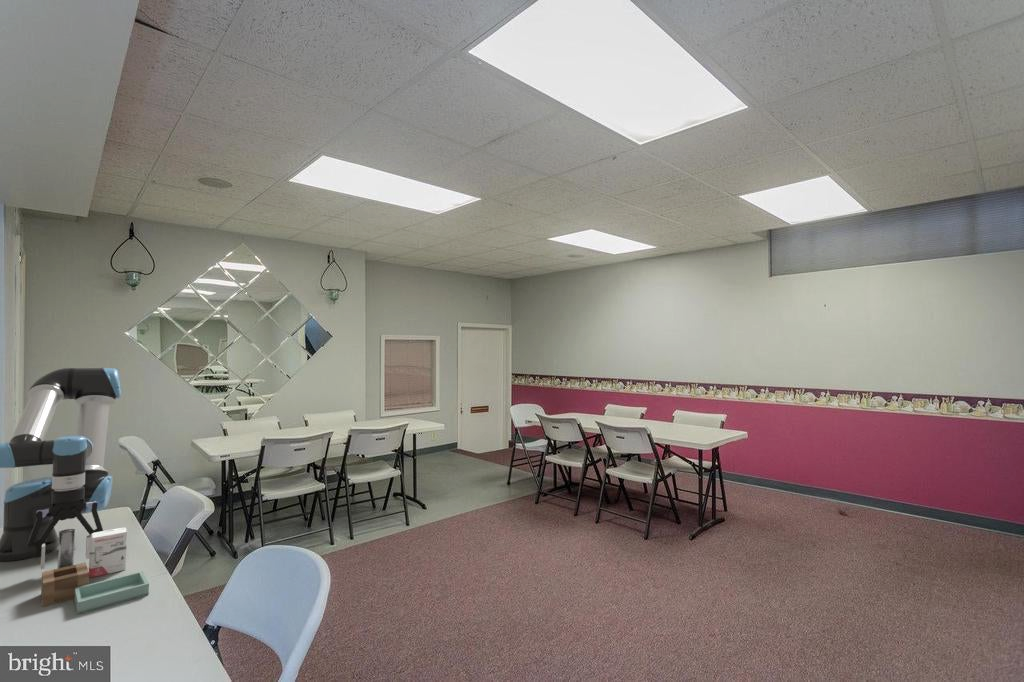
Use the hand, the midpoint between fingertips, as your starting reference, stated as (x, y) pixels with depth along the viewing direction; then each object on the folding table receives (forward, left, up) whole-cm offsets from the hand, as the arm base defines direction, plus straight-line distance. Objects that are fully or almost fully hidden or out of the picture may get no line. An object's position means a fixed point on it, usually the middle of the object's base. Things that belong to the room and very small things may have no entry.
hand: (65, 562), depth 146 cm
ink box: (+9, +9, -3) cm, 13 cm away
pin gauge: (0, 0, -3) cm, 3 cm away
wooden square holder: (+19, -1, -3) cm, 19 cm away
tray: (+29, +8, -3) cm, 31 cm away
